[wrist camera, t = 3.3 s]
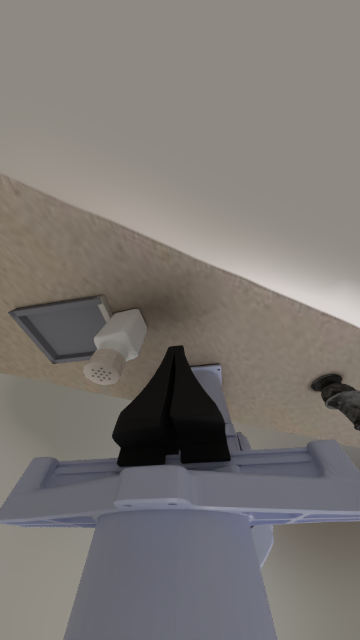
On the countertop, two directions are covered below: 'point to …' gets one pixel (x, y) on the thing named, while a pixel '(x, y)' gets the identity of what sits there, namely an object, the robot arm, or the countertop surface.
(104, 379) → the pepper shaker
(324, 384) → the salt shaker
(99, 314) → the tray
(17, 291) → the countertop surface
